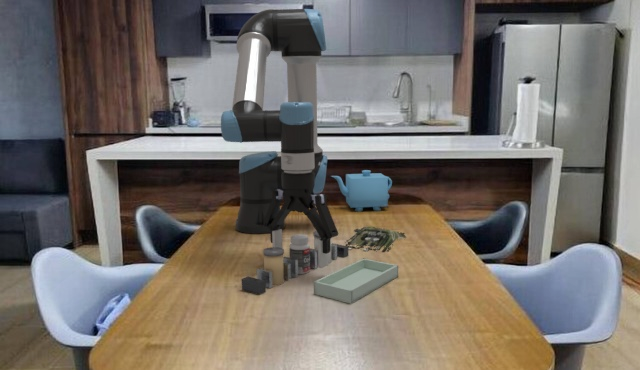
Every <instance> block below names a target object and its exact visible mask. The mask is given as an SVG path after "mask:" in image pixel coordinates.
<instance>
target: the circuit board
mask: <svg viewBox="0 0 640 370" xmlns="http://www.w3.org/2000/svg"><path fill="white" fill-rule="evenodd" d="M353 231H354V232H355V233H354V235H352V236H351V237H350V238H349V239H346V241H344V244H345V246H348V251H349V250H353V249H355V250H361V251H366V252H369V251H374V252H377V251H378V252H379V251H380V250H381V249H382V248H383V249H382V251H381V252H382V253H384V252H390V251H391V250H392V248H393V246H394V242H395V241H397V240H406V238H407V236H406V233H405V232H400V231H395V230H393V229H392V230H390V229H387V228H381V227H375V226H363V227H362V228H360V229H359V228H355V229H354V230H353Z"/></svg>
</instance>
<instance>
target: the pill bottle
mask: <svg viewBox="0 0 640 370" xmlns="http://www.w3.org/2000/svg"><path fill="white" fill-rule="evenodd" d="M310 248H311V247H310V243H309V236H308V235H307V234H301V233H299V234H292V235H290V245H289V248H288V251H289V258H293V259H298V275H303V274H307V273H309V272H310V271H311V268H310Z"/></svg>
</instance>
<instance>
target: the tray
mask: <svg viewBox="0 0 640 370" xmlns="http://www.w3.org/2000/svg"><path fill="white" fill-rule="evenodd" d="M398 277H399V265H398V264H393V263H387V262H382V261H377V260H373V259H368V258H361V259H359V260H357V261H355V262H353V263H351V264H348V265H346V266H344V267H342V268H340V269H337V270H336V271H334V272H332V273H330V274H328V275H325V276H323V277H321V278H318V279H317V280H314V281H313V294H314V295H317V296H321V297H325V298H328V299H331V300H335V301H340V302H343V303H347V304H353V303H354V302H356V301H358V300H360V299H361V298H364V297H365V296H367V295H368V294H371V293H372V292H374V291H376V290H377V289H380V288H381V287H382V286H384V285H386V284H388V283H389V282H392V281H393V280H394V279H397V278H398Z"/></svg>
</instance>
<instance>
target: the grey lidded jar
mask: <svg viewBox="0 0 640 370" xmlns="http://www.w3.org/2000/svg"><path fill="white" fill-rule="evenodd" d="M312 234H313V240H314V241H313V247H314V248H313V249H316V250H318V239H320V238H321V237H320V236H319V234H318V232H317V231H316V230H315V231H314V232H313V233H312ZM330 244H332V239H331V240H330ZM330 248H331V247H330ZM332 260H333V259H331V250H330V252H329V253H328V264H330V263H332Z"/></svg>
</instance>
